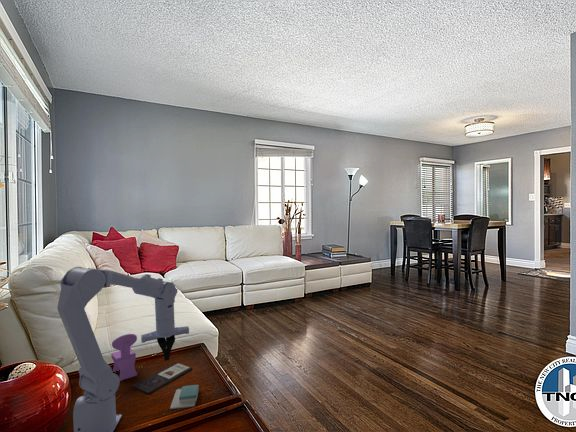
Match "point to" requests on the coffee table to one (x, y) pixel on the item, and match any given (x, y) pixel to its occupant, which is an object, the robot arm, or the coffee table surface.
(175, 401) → the mat
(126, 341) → the toy chair
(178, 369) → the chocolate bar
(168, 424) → the coffee table surface
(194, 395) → the tile
